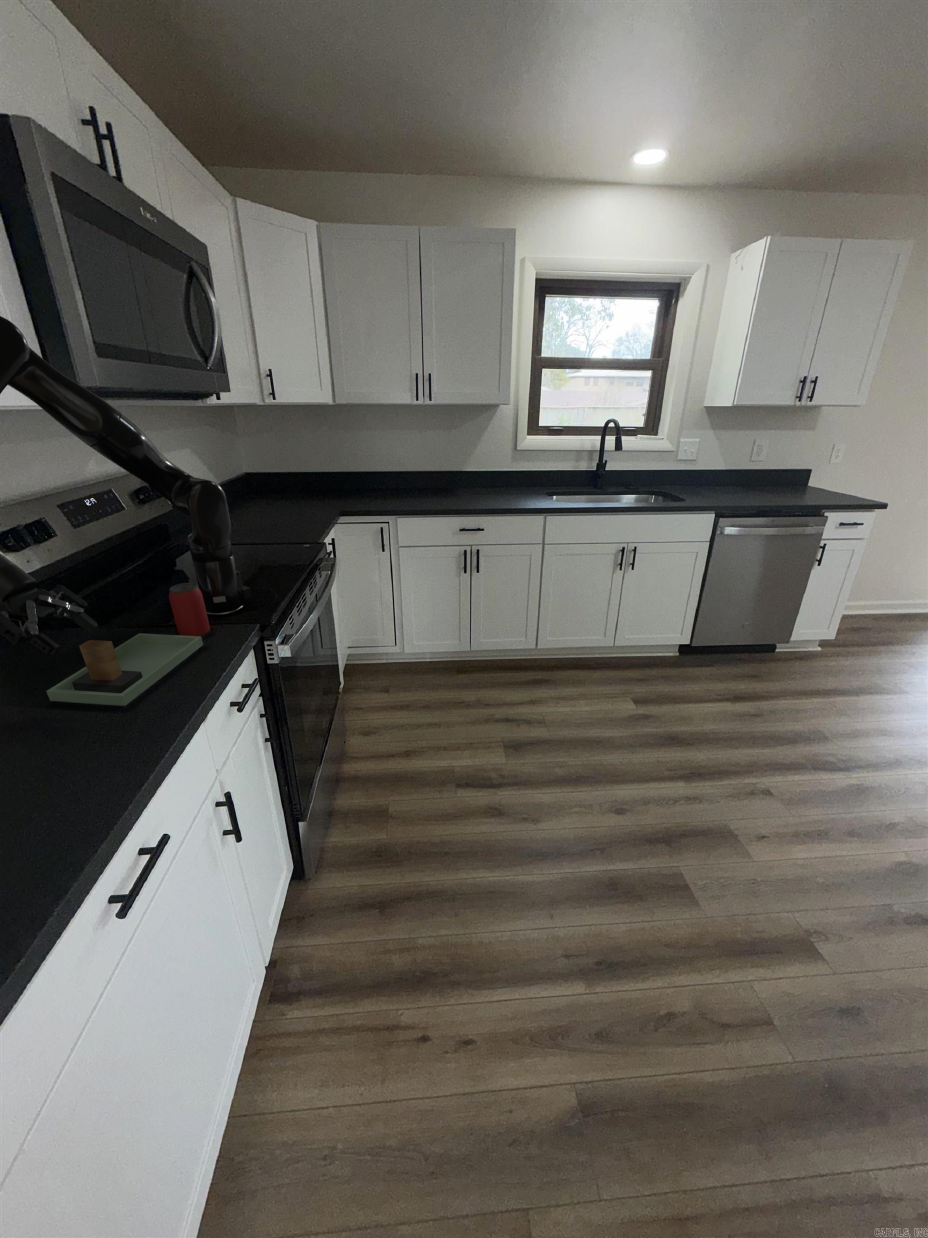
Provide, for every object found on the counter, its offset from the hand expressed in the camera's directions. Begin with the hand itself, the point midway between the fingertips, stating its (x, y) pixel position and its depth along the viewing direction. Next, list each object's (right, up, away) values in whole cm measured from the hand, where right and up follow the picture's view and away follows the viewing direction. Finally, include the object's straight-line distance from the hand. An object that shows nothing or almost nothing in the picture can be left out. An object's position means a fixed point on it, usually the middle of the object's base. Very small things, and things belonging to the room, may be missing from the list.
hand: (76, 640), depth 90 cm
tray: (+4, -7, +9) cm, 13 cm away
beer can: (+8, 0, +25) cm, 27 cm away
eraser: (+4, -9, +3) cm, 10 cm away
